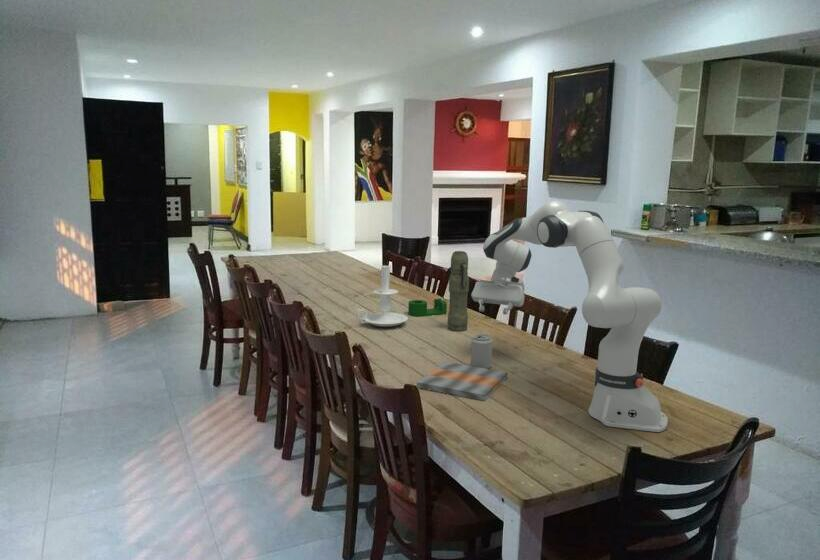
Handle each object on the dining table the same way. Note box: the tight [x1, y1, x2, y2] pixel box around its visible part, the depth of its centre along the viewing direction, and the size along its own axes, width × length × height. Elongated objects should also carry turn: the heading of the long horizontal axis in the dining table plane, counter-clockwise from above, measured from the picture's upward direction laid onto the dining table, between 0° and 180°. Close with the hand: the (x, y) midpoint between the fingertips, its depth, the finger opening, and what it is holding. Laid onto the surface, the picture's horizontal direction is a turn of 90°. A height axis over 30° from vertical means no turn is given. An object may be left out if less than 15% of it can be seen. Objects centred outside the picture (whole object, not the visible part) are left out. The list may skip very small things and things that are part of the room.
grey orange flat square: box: [416, 361, 509, 402], centre depth 212 cm, size 24×24×2 cm
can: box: [470, 333, 493, 369], centre depth 227 cm, size 8×8×12 cm
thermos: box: [447, 250, 470, 333], centre depth 275 cm, size 9×12×35 cm
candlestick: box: [356, 264, 409, 328], centre depth 280 cm, size 21×25×28 cm
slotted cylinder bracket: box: [407, 298, 448, 318], centre depth 304 cm, size 18×9×6 cm, turn 113°
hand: (492, 312), depth 234 cm, fingers open, 8 cm apart
